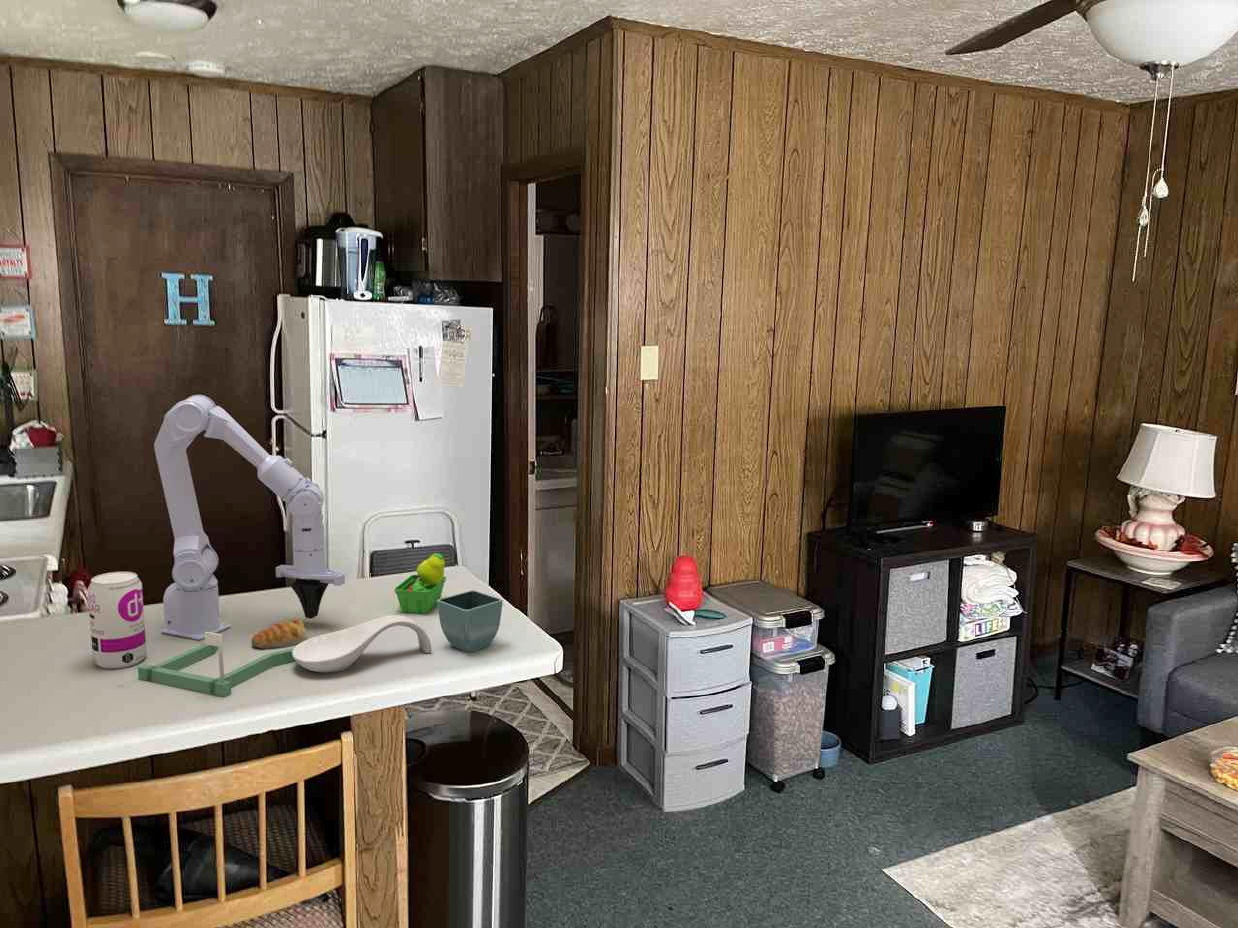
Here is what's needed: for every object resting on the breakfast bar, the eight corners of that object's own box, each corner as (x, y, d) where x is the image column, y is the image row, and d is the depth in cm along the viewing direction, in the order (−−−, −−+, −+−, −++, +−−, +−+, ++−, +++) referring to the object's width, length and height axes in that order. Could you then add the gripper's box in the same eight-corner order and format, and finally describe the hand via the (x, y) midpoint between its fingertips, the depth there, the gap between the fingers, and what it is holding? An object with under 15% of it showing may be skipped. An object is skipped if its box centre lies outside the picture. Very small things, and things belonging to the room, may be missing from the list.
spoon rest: (301, 685, 162) (300, 644, 160) (285, 661, 171) (284, 622, 170) (438, 660, 173) (438, 622, 172) (416, 639, 183) (416, 602, 182)
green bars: (135, 678, 162) (131, 620, 161) (217, 642, 179) (214, 589, 177) (227, 697, 156) (224, 637, 154) (303, 658, 172) (301, 604, 170)
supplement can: (157, 656, 172) (152, 573, 169) (119, 673, 164) (113, 586, 162) (121, 649, 175) (115, 568, 172) (82, 666, 167) (75, 581, 164)
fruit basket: (412, 596, 208) (411, 545, 206) (453, 599, 207) (452, 547, 205) (393, 614, 197) (392, 559, 195) (435, 616, 196) (435, 562, 194)
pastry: (260, 654, 174) (258, 633, 174) (245, 644, 179) (244, 624, 179) (310, 642, 180) (309, 623, 180) (295, 633, 186) (294, 613, 185)
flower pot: (435, 646, 180) (435, 599, 178) (473, 634, 186) (473, 589, 184) (465, 659, 174) (465, 610, 172) (504, 646, 180) (504, 599, 178)
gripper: (353, 547, 187) (355, 615, 190) (292, 539, 192) (294, 605, 195) (330, 556, 181) (332, 626, 183) (267, 547, 186) (270, 616, 188)
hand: (311, 616), depth 189 cm, fingers closed
